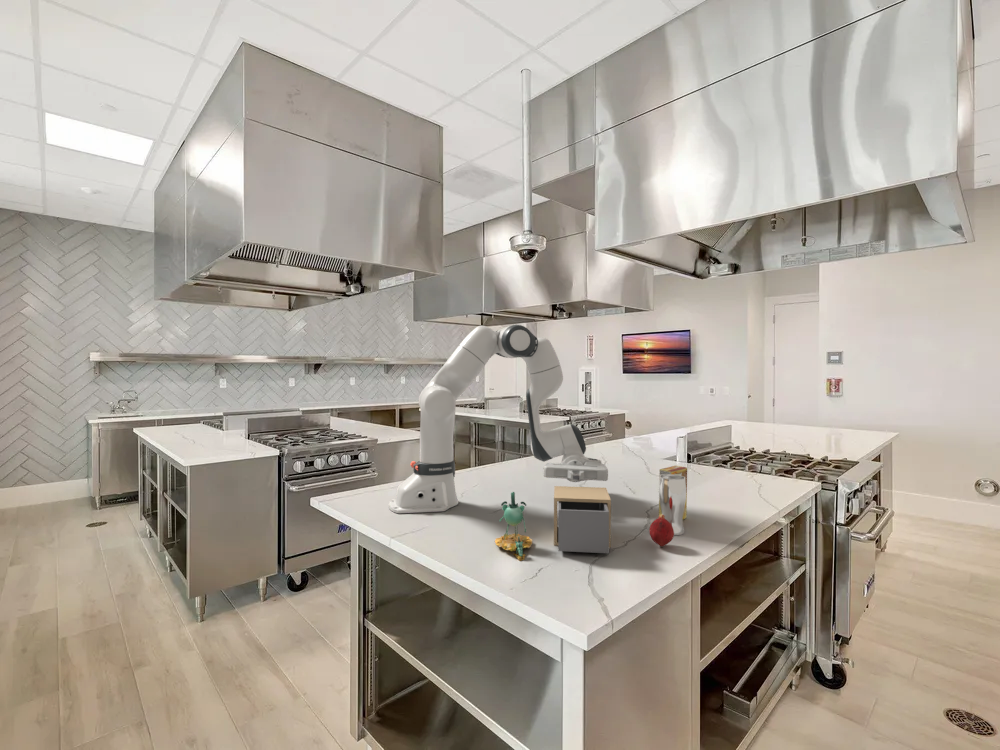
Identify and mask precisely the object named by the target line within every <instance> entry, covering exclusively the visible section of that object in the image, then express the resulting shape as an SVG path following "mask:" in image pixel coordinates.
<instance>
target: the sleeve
mask: <svg viewBox="0 0 1000 750" xmlns="http://www.w3.org/2000/svg"><path fill="white" fill-rule="evenodd" d="M553 488H554V491H553V546H558V501H565V502H594V503H606V505H607V508H608V510H609V549H611V548H612V544H611V542H612V541H611V539H612V538H611V537H612V526H611V525H612V522H611V521H612V520H611V519H612V501H611V496H610V494H609V492H608V489H607V487H600V486H599V487H596V486H595V487H594V486H593V487H591V486H568V485H567V486H564V485H563V486H561V485H560V486H559V485H558V486H557V485H554V487H553Z"/></svg>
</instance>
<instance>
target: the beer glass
mask: <svg viewBox="0 0 1000 750" xmlns="http://www.w3.org/2000/svg"><path fill="white" fill-rule="evenodd" d="M659 475H660V474H659ZM658 486H659V487H658V500H659V499H660V506H661V511H662V514H663V515H664V516H665V517H664V518H665V519H666V520H667V521H669V522H670V524H671V525H672V527H673V530H674V536H681V535H684V533H685V529H684V522H683V521H684V519H683V512H684V507H685V501H686V483H685V477H684V476H680V475H674V474H663V475H660V482H659V481H658Z"/></svg>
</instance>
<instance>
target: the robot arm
mask: <svg viewBox="0 0 1000 750" xmlns="http://www.w3.org/2000/svg"><path fill="white" fill-rule="evenodd" d="M495 355H497V356H499V357H503V358H505V359H506V358H507V359H517V358H521V360H522V359H523V361H524V362H525V364H526V366H527V369H528V373H529V376H530V384H529V385H530V386H529V388H528V389H527V390H526V393H525V400H526V409H527V415H528V423H529V432H530V449H531V453H532V455H533V457H534V458H535V459H536V460H539V461H541V462H547V461H549V460H552V459H554V458H558V457H560V456H562V458H561V462H560V463H559V462H547V463H545V464H544V466H543V467H542V470H543V477H544V478H548V479H566V480H567V481H569V482H570V483H580V482H584V481H585V482H586V481H599V482H607V481H608V480H609V469H608V467H607V466H606V465H605V464H604V463H603V462H602V460H601V459H596V458H591V457H587V456H585V454H586V451H587V447H586V442H585V439H584V436H583V433H582V432H581V430H580V428H579V427H578V426H576V425H574V424H572V423H570V424H566V425H561V426H558V427H557V428H553V429H552V428H551V429H550V430H546V431H543V430H542V427H541V426H542V425H541V419H540V407H541V405H542V404H543V403H544V402H545V401H546V400H547V399H549V398H550V397H551V396H552V395H554V394H555V393H556V392H557V391H558V390H559V389H560V388H561V386H562V383H563V381H564V376H563V371H562V366H561V364H560V360H559V358H558V355H557V352H556V350H555V348H554V346H553V345H552V343H551V341H550V340H549V339H548V338H546V337H537V336H535V335H534V333H533V332H531V330H530V329H529V328H528V327H526V326H524V325H522V324H513V325H507V326H504V327H503V328H500V329H497V330H494V329H492V328H491V327H489V326H486V325H478V326H476V327H475V328H473V330H472V331H470V332H469V333H468V334H467V335H466V336H465V337H464V338H463V340H462V341H460V343H459V344H458V345H457V347H456V348H455V350H453V353H451V355H450V356H449V357H448V359H447V360H446V361H445V363H444V364H443V365H442V366H441V368H440V369H439V370H438V371H437V372H436V373H435V375H434V376H432V378H431V380H429V382H428V383H427V384H426V385H425V387H424V388H423V389H422V390H421V392H420V394H419V396H418V406H419V409H420V421H419V422H420V427H419V428H420V429H419V461H413V460H412V461H411V462H410V467H411V468H412V469H413V470H412V471H413V473H412V474H411V475H409V477H406V479H405V480H404V481H402V482H401V483H400V484H399V485H398V487H397V489H396V493H395V498H392V499H390V500H389V502H388V508H389V510H390V511H391V512H393V513H396V514H412V513H413V514H414V513H433V512H434V513H435V512H437V513H438V512H445V511H447V510H449V509H450V508H453V507H456V506H457V505H458V504H459V500H458V499H459V498H458V495H457V491H456V485H455V477H456V475H455V474H456V464H455V462H456V461H455V460H454V433H455V423H456V422H455V421H456V402H457V400H458V399H459V397H460V396H461V395H462V394H463V393H464V392H465V391H466V390H467V389H468V387H470V386H471V385H472V383H473V382H474V381H475V379H476V378H477V377H478V376H479V374H480V373H481V372H482V370H483V368H484V367H485V366H486V365H487V364H488V362H489V360H490V359H491V358H492V357H494V356H495Z"/></svg>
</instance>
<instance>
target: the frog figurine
mask: <svg viewBox="0 0 1000 750" xmlns="http://www.w3.org/2000/svg"><path fill="white" fill-rule="evenodd" d="M510 502H511V503H509V504H508V501H503V502H502V503H501V506H502V508H501V509H502V511H503V515H502V517H501V518H500V519H499V522H502V520H503V518H504V521H505V522H506V523H507V526H506V529H505V530H506V531H505V533H504V534H503V535H501V536H499V537H497V538H495V540H494V542H495V545H496V546H497V547H498V548H502V549H503V550H505V551H510V552H514V551H516V552H515V553H513V556H514V557H516V559H517V560H518V561H520V562H521V561H524V560H526V557H525V556H526V554H525V553H523V552H524V549H526V548H528V549H529V548H531V547H532V544H533V539H532V538H530V536H528V535H525V534H524V535H521V534H520V533H519V532H518V531H517V526H518V525H520V524H521V522H523V526H524V527H523V528H524V533H526V532H527V528H526V523H525V518H524V514H523V513H524V511H525V507H527V503H526V502H525V501H520V504H521V505H520V506H519V504H518V503H519V502H518V503H517V502H516V493H515V491H512V492H511V493H510ZM522 520H523V521H522ZM510 526H512V527H514V533H511V534H509V533H508V531H509V528H510Z"/></svg>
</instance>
